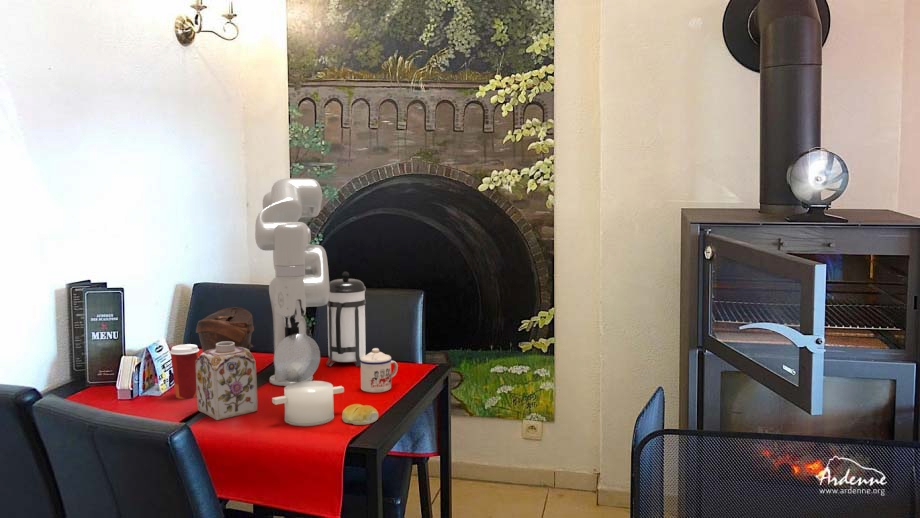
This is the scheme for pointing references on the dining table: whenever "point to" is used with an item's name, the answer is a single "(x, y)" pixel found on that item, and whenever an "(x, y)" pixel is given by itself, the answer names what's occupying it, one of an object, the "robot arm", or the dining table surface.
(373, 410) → the bread roll
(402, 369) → the dining table surface
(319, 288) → the robot arm
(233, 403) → the decorative jar
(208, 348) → the case
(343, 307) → the coffee press
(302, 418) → the pot
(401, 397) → the dining table surface
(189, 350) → the paper cup
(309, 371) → the lid
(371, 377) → the teacup with lid
